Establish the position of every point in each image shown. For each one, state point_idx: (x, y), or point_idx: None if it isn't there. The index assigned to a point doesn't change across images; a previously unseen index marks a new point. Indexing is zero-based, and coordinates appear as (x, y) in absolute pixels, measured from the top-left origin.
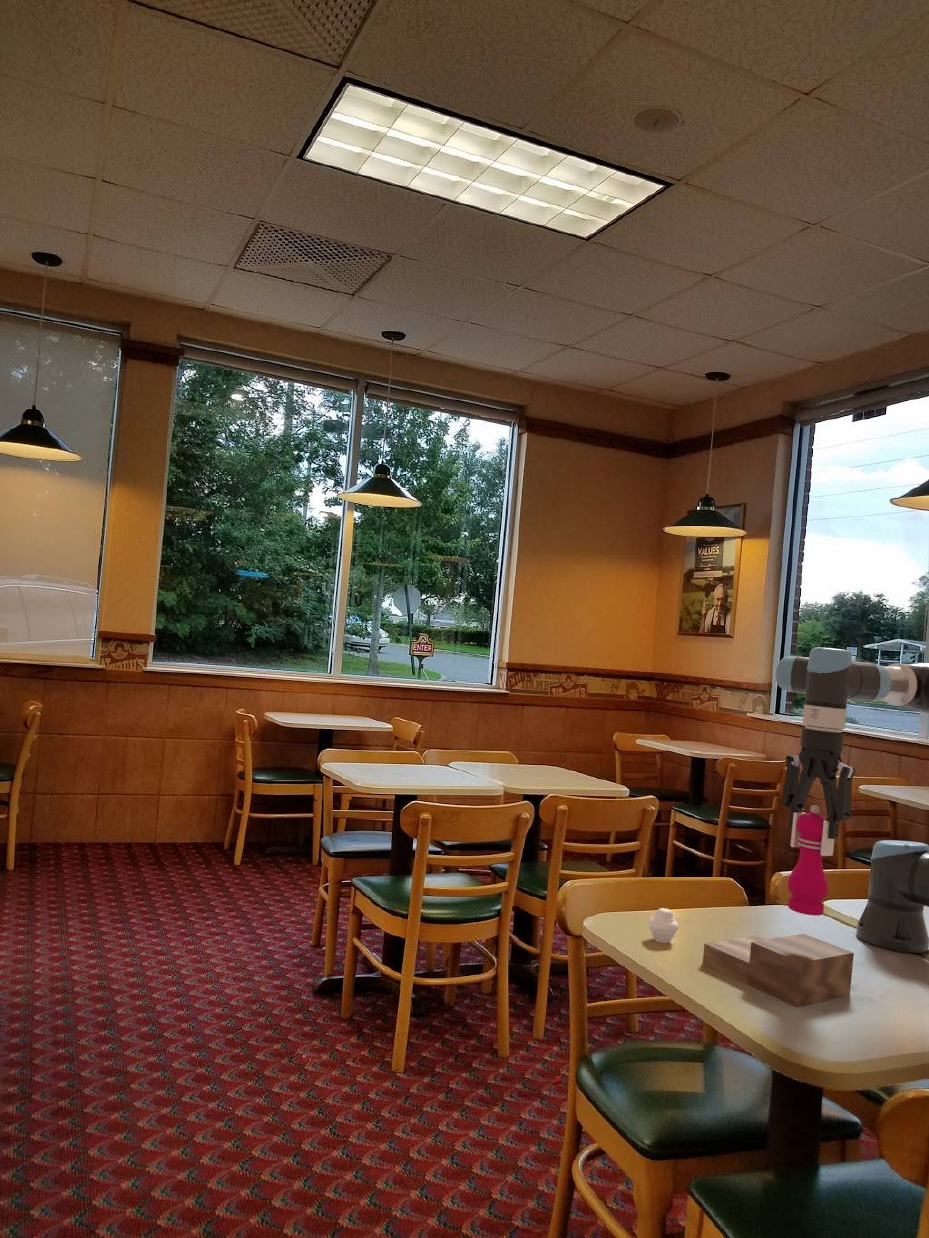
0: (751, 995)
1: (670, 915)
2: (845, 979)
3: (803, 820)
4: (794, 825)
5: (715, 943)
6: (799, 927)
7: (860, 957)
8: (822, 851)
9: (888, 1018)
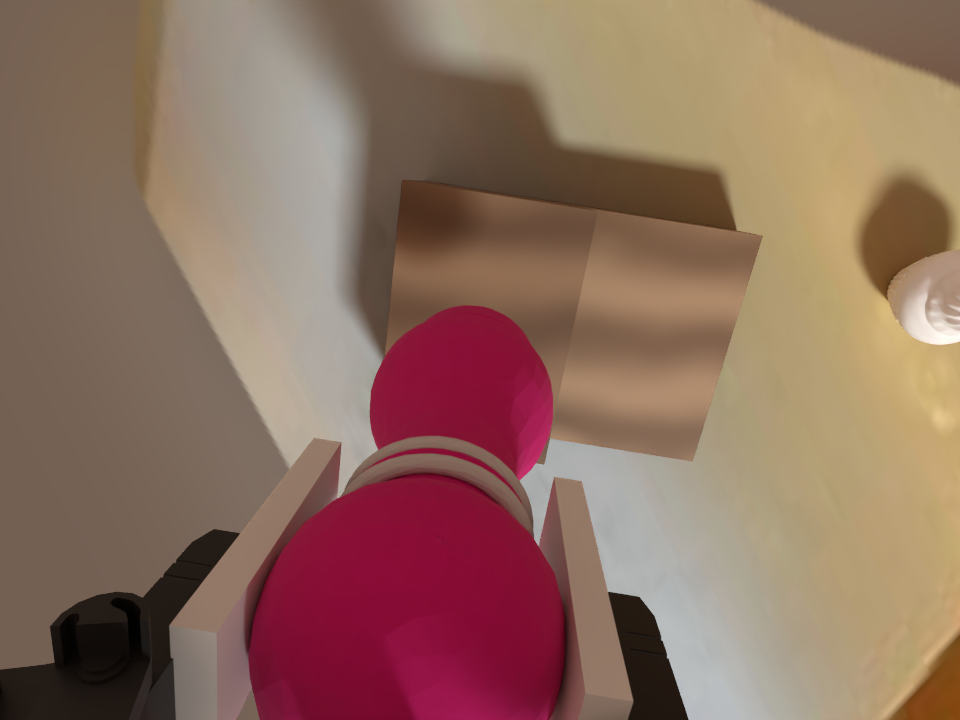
0: (531, 137)
1: (952, 301)
2: None
3: (442, 561)
4: (585, 587)
5: (739, 271)
6: (697, 714)
7: None
8: (317, 452)
9: (281, 335)
